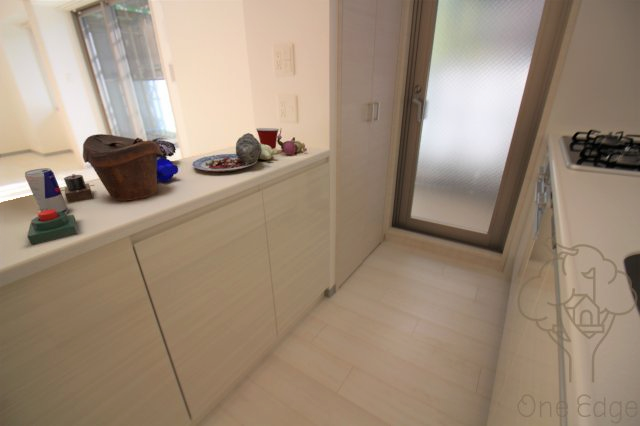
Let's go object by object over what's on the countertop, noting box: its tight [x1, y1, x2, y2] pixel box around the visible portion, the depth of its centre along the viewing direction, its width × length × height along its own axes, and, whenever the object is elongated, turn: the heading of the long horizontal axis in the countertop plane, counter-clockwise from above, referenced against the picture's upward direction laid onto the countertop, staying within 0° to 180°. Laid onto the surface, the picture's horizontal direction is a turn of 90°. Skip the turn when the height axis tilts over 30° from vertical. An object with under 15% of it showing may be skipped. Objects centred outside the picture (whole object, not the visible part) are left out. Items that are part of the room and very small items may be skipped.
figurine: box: [277, 129, 308, 157], centre depth 138 cm, size 11×13×15 cm
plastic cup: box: [255, 127, 280, 149], centre depth 138 cm, size 11×11×12 cm
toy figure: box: [157, 158, 179, 183], centre depth 103 cm, size 9×10×15 cm
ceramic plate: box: [191, 153, 258, 173], centre depth 119 cm, size 26×26×3 cm
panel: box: [60, 183, 95, 204], centre depth 88 cm, size 9×9×3 cm
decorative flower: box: [151, 137, 177, 159], centre depth 120 cm, size 15×12×15 cm
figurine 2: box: [276, 136, 296, 152], centre depth 145 cm, size 8×8×6 cm
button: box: [37, 209, 58, 221], centre depth 66 cm, size 3×3×2 cm
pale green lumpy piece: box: [257, 144, 278, 161], centre depth 129 cm, size 13×7×15 cm
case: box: [82, 133, 164, 201], centre depth 87 cm, size 18×20×18 cm
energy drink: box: [24, 167, 69, 214], centre depth 75 cm, size 5×5×12 cm
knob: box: [63, 173, 87, 190], centre depth 87 cm, size 4×4×4 cm
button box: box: [26, 212, 78, 246], centre depth 67 cm, size 8×8×4 cm
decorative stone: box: [235, 132, 262, 163], centre depth 118 cm, size 22×10×10 cm
